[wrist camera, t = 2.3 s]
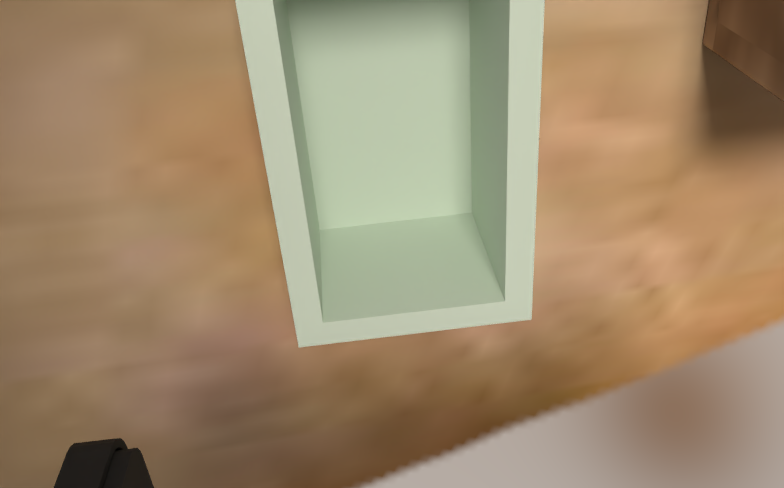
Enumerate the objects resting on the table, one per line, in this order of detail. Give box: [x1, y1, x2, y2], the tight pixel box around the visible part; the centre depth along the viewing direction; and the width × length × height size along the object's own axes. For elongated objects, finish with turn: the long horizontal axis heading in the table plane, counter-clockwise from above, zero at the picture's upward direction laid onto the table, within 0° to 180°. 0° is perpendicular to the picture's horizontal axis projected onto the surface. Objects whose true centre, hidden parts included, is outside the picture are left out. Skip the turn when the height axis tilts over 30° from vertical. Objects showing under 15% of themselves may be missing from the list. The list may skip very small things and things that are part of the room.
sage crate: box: [235, 0, 545, 347], centre depth 18 cm, size 10×6×5 cm, turn 4°
